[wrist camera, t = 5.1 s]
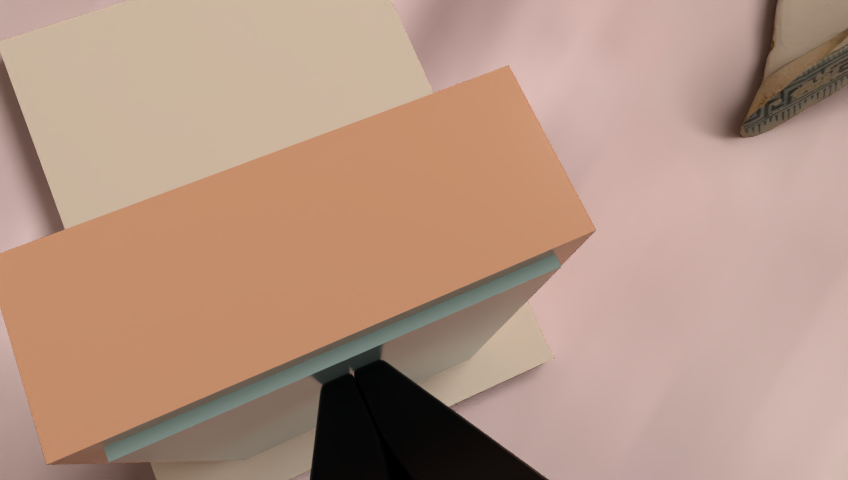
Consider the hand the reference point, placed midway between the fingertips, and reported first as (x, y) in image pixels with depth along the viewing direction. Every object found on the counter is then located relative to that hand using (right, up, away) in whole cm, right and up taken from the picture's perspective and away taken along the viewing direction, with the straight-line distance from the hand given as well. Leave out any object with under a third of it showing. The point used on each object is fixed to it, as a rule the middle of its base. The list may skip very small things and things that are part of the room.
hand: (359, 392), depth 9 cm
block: (-1, -1, +7) cm, 7 cm away
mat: (-3, +3, +8) cm, 9 cm away
